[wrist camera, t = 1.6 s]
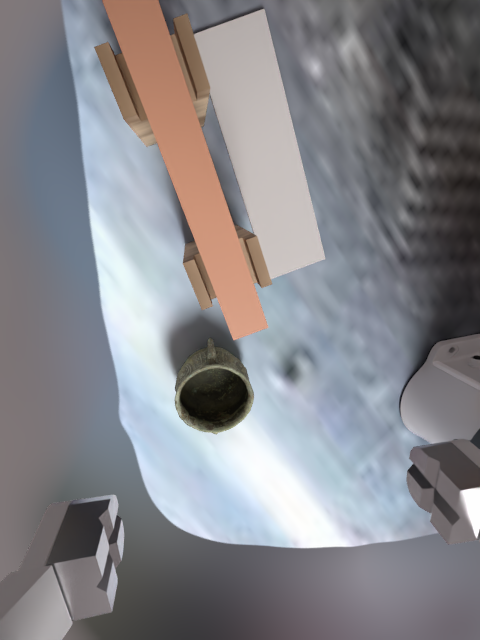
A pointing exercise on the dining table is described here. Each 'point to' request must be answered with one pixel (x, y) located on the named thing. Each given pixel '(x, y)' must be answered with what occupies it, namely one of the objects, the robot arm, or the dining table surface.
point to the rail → (186, 157)
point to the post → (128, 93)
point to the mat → (261, 140)
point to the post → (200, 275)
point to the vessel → (213, 390)
